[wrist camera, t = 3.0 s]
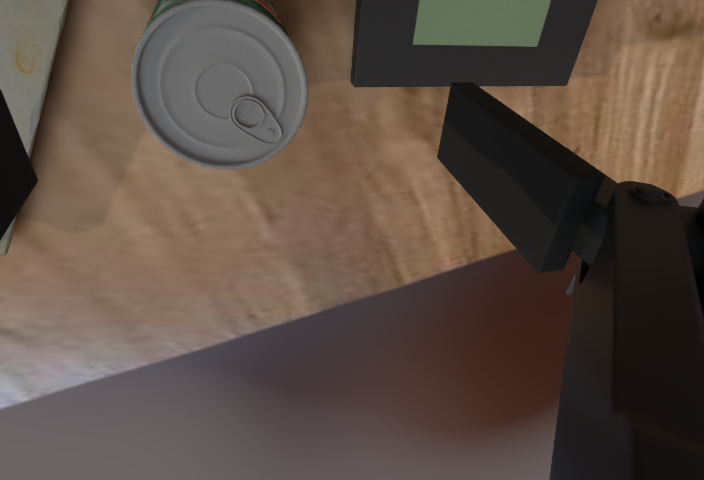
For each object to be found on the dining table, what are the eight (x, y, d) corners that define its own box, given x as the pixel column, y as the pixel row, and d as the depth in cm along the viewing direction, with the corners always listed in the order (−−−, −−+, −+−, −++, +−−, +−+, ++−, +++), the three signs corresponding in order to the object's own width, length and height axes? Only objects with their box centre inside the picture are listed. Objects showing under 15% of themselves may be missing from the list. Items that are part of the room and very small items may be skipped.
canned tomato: (126, 33, 28) (89, 94, 19) (210, -68, 26) (210, -50, 17) (227, 118, 32) (233, 197, 24) (305, 38, 30) (341, 93, 22)
